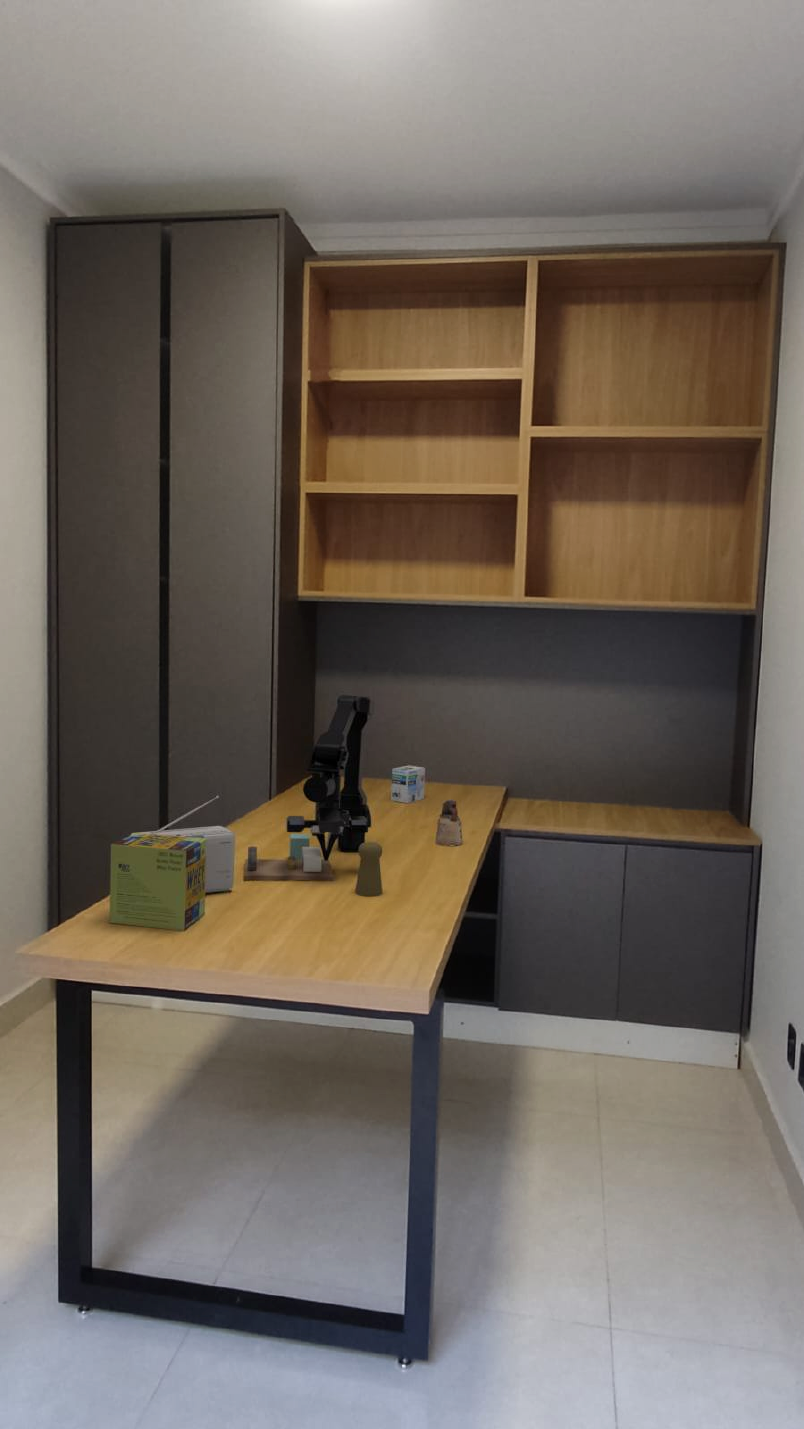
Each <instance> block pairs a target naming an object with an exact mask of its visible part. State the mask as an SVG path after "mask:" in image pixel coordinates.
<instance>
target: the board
mask: <svg viewBox="0 0 804 1429" xmlns="http://www.w3.org/2000/svg"><path fill="white" fill-rule="evenodd" d="M247 848H248V849H247V858H245V859H244V870H243V872H244V873H243V881H244V882H259V881H260V882H262V881H263V882H267V881H268V882H270V881H271V882H272V881H273V882H274V881H275V882H276V881H277V880H282V882H285V880H310V881H309V882H312V881H313V882H314V881H317V882H319V881H320V882H321V881H322V882H325V881H326V882H333V881H334V880H335V879H334V876H335V875H334V871H333V869H332V865H331V862H330V859H328V861H324V859H322V861H321V872H304V871H303V863H302V859H295V857H294V856H290V855H289V856H288V857H287V858H288V859H286V858H284V859H283V858H281V859H279V858H277V859H276V858H274V859H265V858H264V859H258V857H257V856H258V852H257V850H258V847H257V846H248V847H247ZM250 880H251V881H250ZM255 880H256V881H255ZM277 882H278V881H277Z"/></svg>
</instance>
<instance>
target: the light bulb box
mask: <svg viewBox="0 0 804 1429" xmlns="http://www.w3.org/2000/svg"><path fill="white" fill-rule="evenodd" d="M425 776H426V767H424V766H423V767H421V766H415V765H409V764H408V765H406V766H399V767H395V768H392V770H391V789H390V790H391V792H390V796H391V797H390V800H391V801H393V802H399V803H402V804H403V803H404V804H409V803H414V802H417V801H422V799H423V800H424V798H425V797H424V796H425V781H426V780H425V779H426V777H425Z"/></svg>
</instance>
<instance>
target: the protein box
mask: <svg viewBox="0 0 804 1429" xmlns="http://www.w3.org/2000/svg"><path fill="white" fill-rule="evenodd" d="M134 833H135V834H133V835H131V834H130V835H128V836H126V837H123V838H122V839H120V840H117V841H115V842H113V843H111V844H110V883H109V884H110V886H109V887H110V889H109V893H110V894H109V923H110V924H117V925H129V926H136V927H145V928H155V929H164V930H174V931H180V932H181V931H183V932H184V931H185V930H186V929H188V928H190V927H191V926H192V925H193V924H194V923H196V922H197V921H198V920H200V919H201V918H202V917H204V916H205V915H206V893H205V876H206V838H193V837H182V836H171V835H157V834H145V833H139V832H134Z"/></svg>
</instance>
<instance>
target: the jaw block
mask: <svg viewBox="0 0 804 1429" xmlns="http://www.w3.org/2000/svg"><path fill="white" fill-rule="evenodd" d="M302 847H310V835H309V833H307V834H306V833H290V834H289V856H294V857H295V859H302Z"/></svg>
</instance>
